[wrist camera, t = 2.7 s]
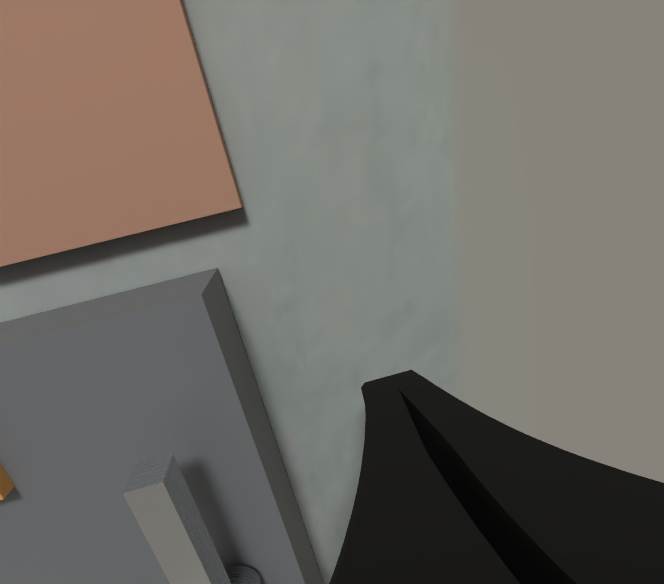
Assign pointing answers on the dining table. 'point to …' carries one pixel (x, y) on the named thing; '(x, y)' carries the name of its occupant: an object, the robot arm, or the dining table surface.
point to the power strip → (137, 438)
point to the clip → (177, 527)
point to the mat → (103, 125)
